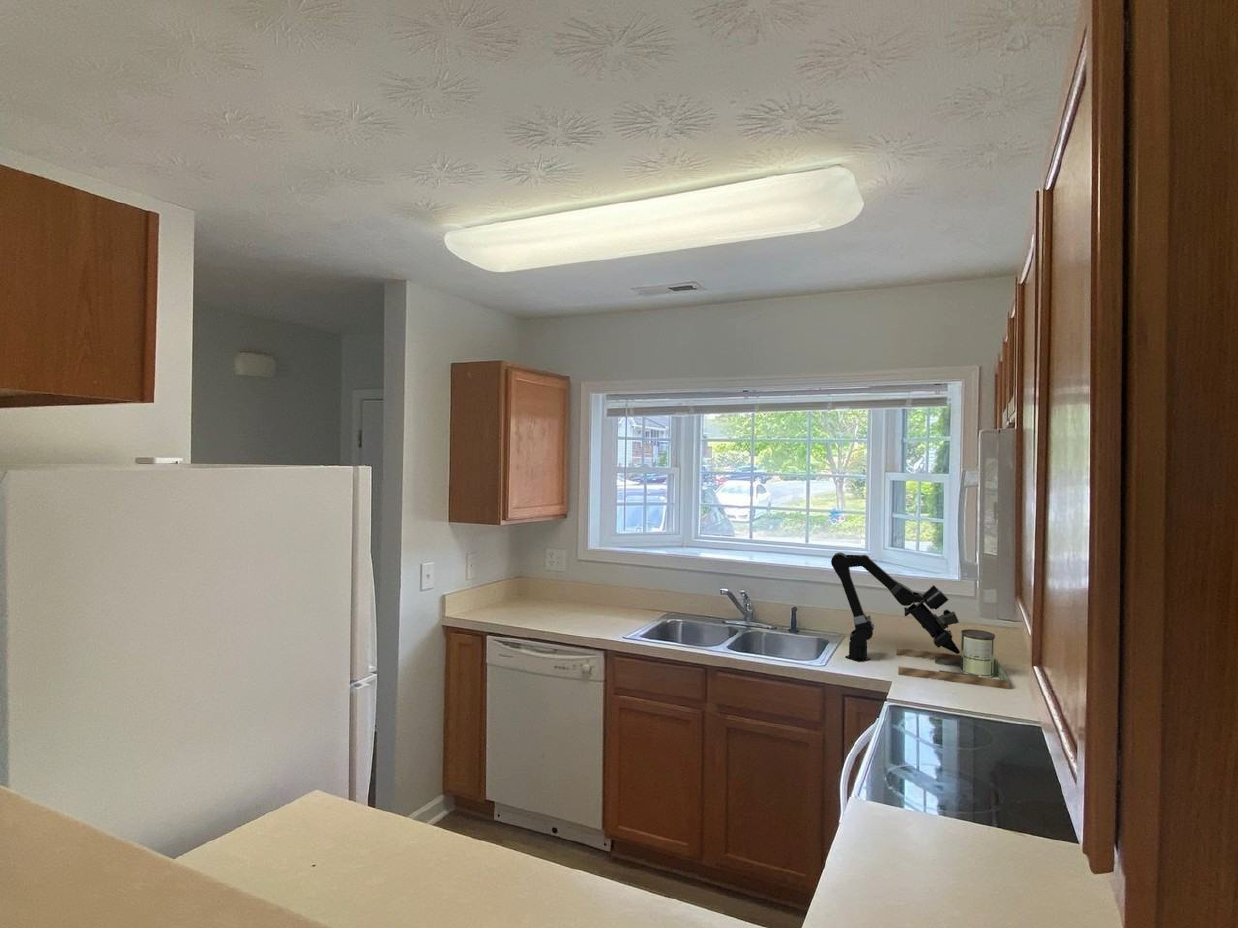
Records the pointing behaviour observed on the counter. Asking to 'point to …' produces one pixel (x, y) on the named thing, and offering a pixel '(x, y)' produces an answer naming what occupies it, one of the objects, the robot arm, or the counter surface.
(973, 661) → the coffee can
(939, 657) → the brown wooden frame
